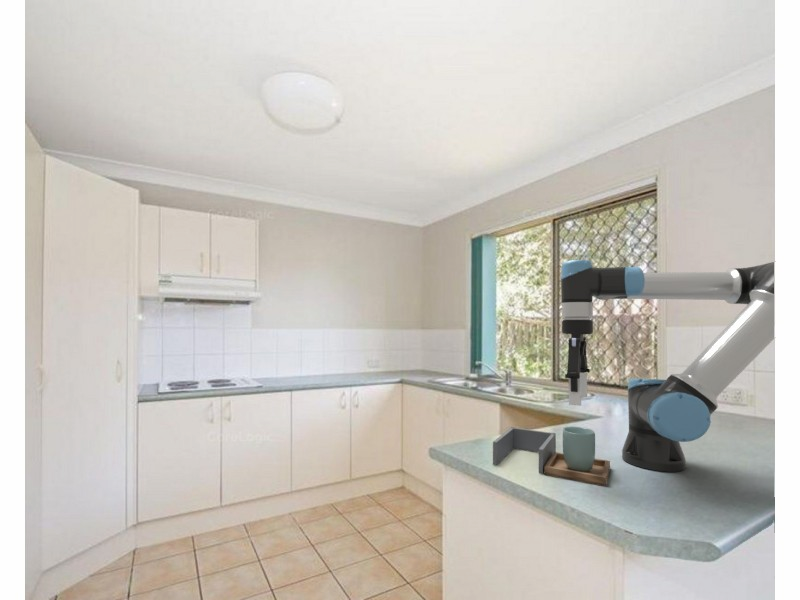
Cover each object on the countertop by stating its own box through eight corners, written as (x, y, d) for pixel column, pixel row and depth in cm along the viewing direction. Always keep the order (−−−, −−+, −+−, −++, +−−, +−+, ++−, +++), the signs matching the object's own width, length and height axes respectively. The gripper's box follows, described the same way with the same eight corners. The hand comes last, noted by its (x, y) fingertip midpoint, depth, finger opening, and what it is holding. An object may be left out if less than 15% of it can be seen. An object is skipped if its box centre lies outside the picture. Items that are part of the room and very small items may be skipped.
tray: (609, 468, 111) (609, 460, 111) (606, 486, 98) (605, 477, 99) (554, 459, 118) (554, 452, 118) (544, 474, 105) (544, 466, 106)
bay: (555, 454, 122) (555, 433, 122) (542, 473, 106) (542, 449, 106) (511, 446, 129) (511, 427, 129) (492, 464, 113) (492, 441, 113)
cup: (599, 476, 103) (598, 435, 104) (565, 473, 105) (565, 433, 105) (591, 465, 111) (590, 427, 111) (560, 463, 113) (560, 425, 113)
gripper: (568, 319, 123) (570, 392, 122) (553, 318, 101) (554, 407, 100) (597, 319, 119) (598, 394, 118) (587, 318, 97) (589, 410, 96)
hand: (578, 400), depth 109 cm, fingers open, 13 cm apart
